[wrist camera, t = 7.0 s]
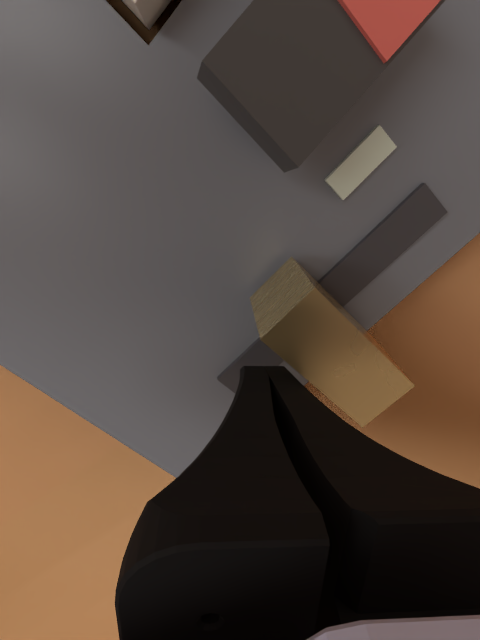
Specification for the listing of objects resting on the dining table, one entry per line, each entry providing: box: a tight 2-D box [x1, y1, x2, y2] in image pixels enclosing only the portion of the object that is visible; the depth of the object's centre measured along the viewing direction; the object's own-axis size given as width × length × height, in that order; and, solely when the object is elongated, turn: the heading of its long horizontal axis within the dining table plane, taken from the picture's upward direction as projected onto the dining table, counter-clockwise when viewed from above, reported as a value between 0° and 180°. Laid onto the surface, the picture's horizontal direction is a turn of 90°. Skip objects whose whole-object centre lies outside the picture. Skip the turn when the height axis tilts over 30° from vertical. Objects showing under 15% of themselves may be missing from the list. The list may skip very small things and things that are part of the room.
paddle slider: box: [250, 256, 415, 428], centre depth 11 cm, size 4×2×3 cm, turn 46°
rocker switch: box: [197, 0, 445, 173], centre depth 8 cm, size 3×5×1 cm, turn 136°
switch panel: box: [0, 0, 480, 478], centre depth 11 cm, size 16×22×2 cm
